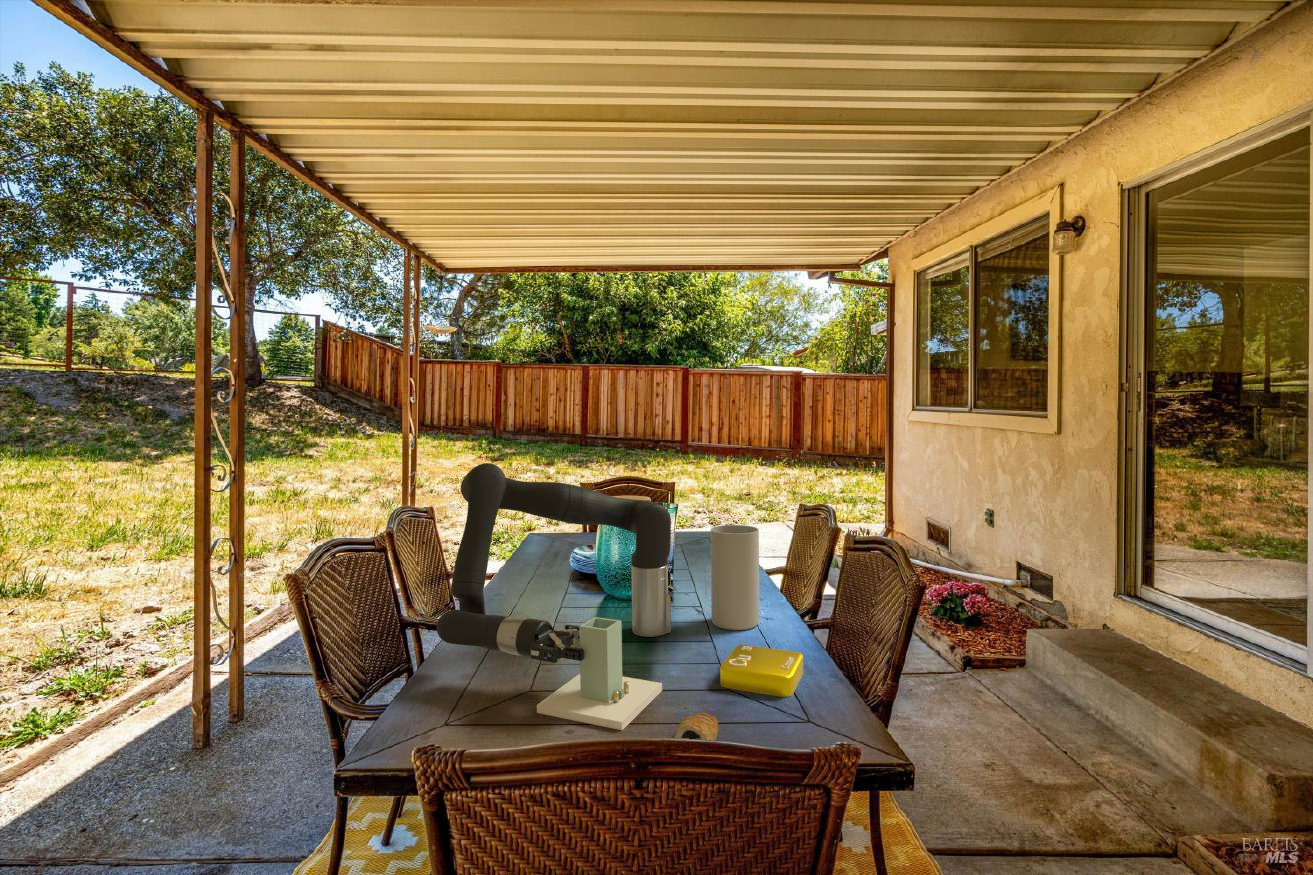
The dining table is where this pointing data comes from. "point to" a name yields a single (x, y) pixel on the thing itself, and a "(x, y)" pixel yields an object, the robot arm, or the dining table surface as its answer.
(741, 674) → the element tile
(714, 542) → the cylinder vase
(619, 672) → the hollow square tube
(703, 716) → the pastry
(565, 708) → the base plate
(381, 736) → the dining table surface
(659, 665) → the dining table surface
